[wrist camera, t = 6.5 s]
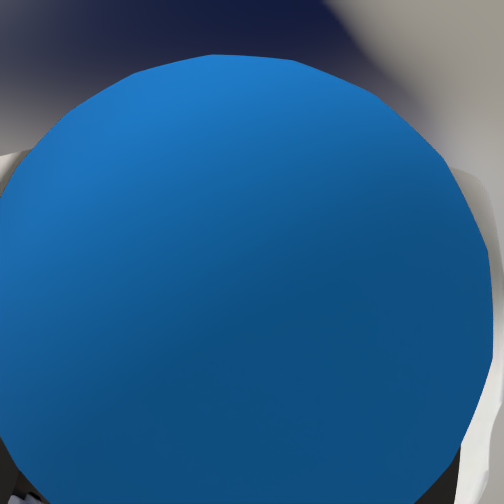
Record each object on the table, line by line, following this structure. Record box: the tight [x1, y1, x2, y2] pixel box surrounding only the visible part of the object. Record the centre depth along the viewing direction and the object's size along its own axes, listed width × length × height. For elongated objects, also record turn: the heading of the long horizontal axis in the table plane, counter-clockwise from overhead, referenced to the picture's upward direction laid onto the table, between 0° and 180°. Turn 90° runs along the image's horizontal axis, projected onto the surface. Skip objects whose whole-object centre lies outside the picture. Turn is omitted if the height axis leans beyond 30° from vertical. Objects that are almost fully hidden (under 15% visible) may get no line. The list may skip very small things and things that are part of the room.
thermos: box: [0, 55, 493, 504], centre depth 16 cm, size 11×11×25 cm
